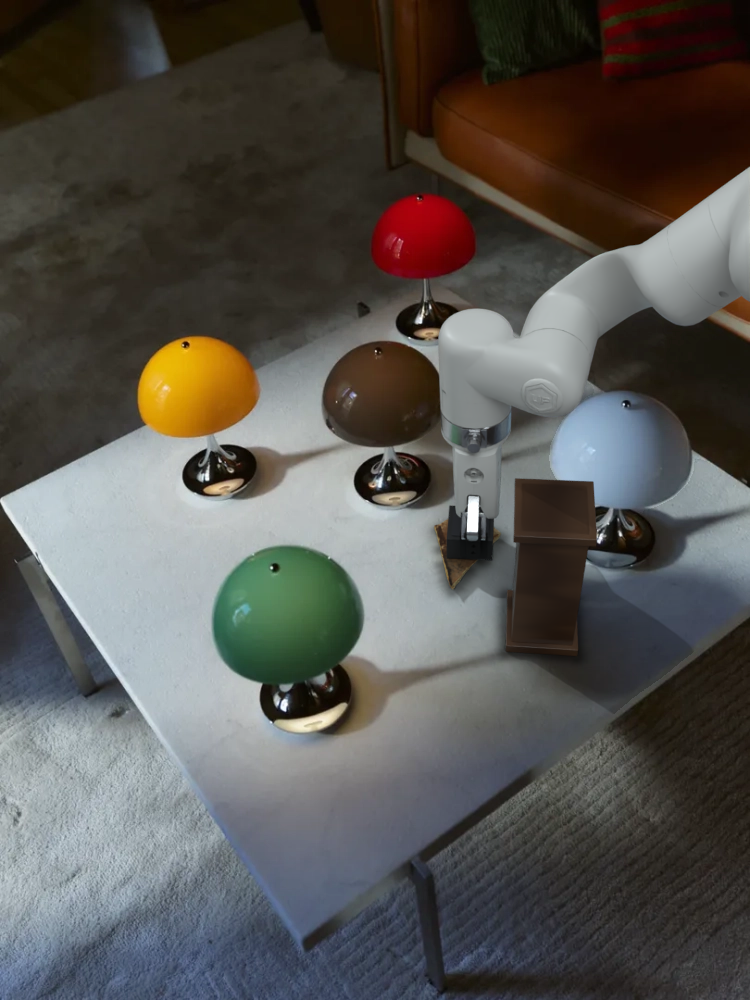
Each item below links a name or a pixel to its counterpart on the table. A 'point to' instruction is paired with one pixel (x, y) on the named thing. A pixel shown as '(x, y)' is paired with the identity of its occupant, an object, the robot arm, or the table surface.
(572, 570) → the pedestal
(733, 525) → the table surface
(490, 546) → the dark grey block
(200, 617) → the table surface
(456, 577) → the shard
